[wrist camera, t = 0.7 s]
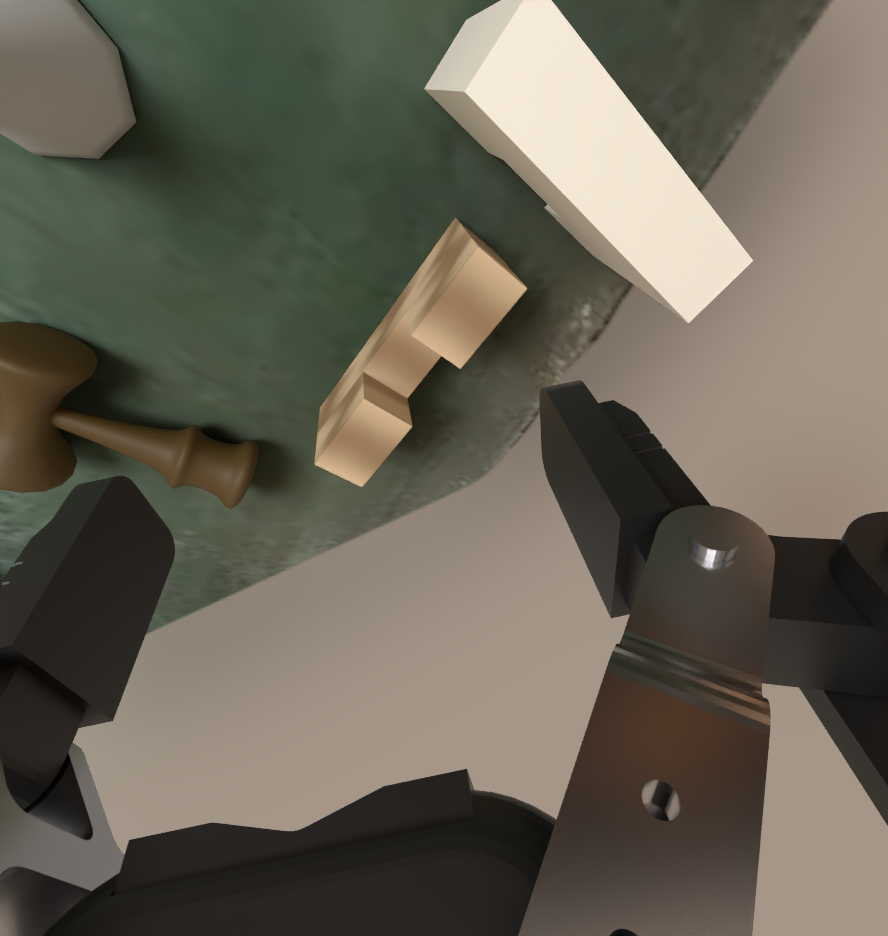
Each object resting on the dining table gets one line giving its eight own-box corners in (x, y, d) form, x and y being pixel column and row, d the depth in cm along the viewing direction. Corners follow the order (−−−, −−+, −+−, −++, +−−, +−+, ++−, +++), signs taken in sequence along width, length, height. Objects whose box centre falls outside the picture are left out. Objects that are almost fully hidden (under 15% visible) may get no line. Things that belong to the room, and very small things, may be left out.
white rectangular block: (424, 89, 26) (464, 91, 17) (466, 19, 25) (536, -20, 15) (592, 254, 33) (688, 323, 23) (633, 207, 31) (752, 260, 22)
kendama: (235, 497, 41) (-77, 407, 33) (278, 405, 37) (-68, 273, 28) (224, 549, 37) (-145, 460, 28) (271, 451, 32) (-146, 309, 24)
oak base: (455, 217, 30) (478, 246, 25) (497, 253, 32) (527, 288, 26) (320, 407, 37) (314, 464, 31) (360, 429, 38) (362, 487, 33)
